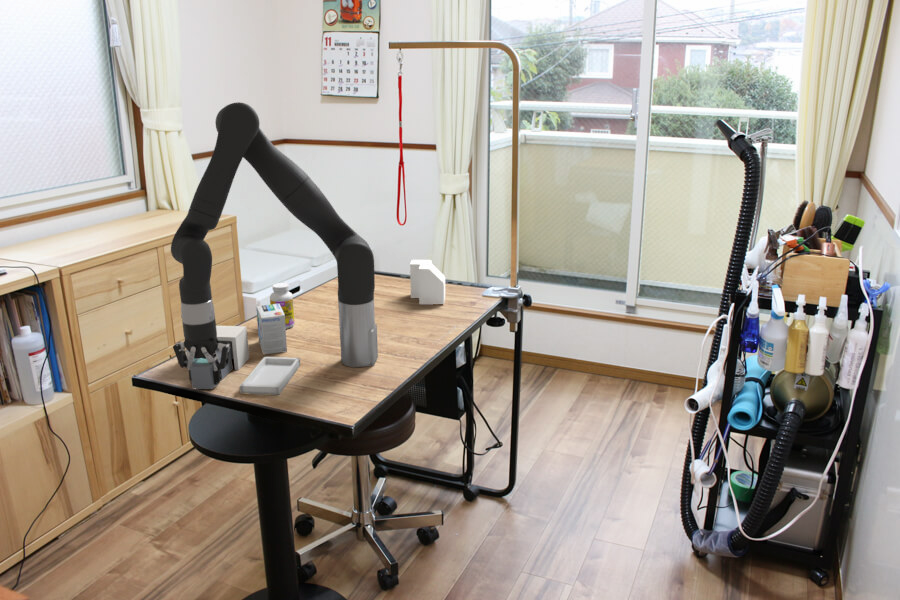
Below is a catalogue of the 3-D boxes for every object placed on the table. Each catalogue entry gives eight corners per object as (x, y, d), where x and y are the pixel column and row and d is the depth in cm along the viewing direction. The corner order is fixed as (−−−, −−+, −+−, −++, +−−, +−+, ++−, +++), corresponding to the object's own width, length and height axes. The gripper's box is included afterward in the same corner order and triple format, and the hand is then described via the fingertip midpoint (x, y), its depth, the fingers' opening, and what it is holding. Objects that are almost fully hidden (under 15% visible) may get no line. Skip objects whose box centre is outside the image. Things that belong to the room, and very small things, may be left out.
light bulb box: (258, 341, 211) (255, 305, 207) (282, 338, 213) (279, 302, 210) (263, 355, 201) (259, 317, 198) (288, 351, 204) (285, 314, 200)
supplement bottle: (274, 331, 218) (271, 289, 214) (270, 324, 224) (266, 283, 220) (297, 327, 221) (294, 286, 217) (292, 320, 227) (289, 280, 223)
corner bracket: (412, 293, 252) (411, 259, 248) (445, 294, 251) (445, 260, 247) (409, 304, 242) (408, 268, 238) (443, 304, 241) (443, 269, 237)
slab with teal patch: (232, 368, 193) (230, 346, 191) (212, 390, 180) (209, 366, 178) (214, 367, 193) (211, 345, 191) (192, 389, 181) (189, 365, 179)
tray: (300, 364, 195) (299, 357, 194) (279, 395, 178) (278, 387, 177) (265, 363, 196) (264, 356, 195) (240, 393, 179) (239, 385, 178)
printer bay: (249, 357, 200) (246, 325, 197) (238, 369, 192) (235, 336, 189) (200, 356, 201) (197, 324, 198) (188, 367, 193) (184, 334, 190)
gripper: (233, 313, 180) (240, 377, 186) (176, 311, 181) (184, 375, 187) (221, 324, 173) (228, 390, 178) (162, 322, 174) (171, 388, 180)
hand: (206, 382), depth 183 cm, fingers closed on slab with teal patch, 5 cm apart
